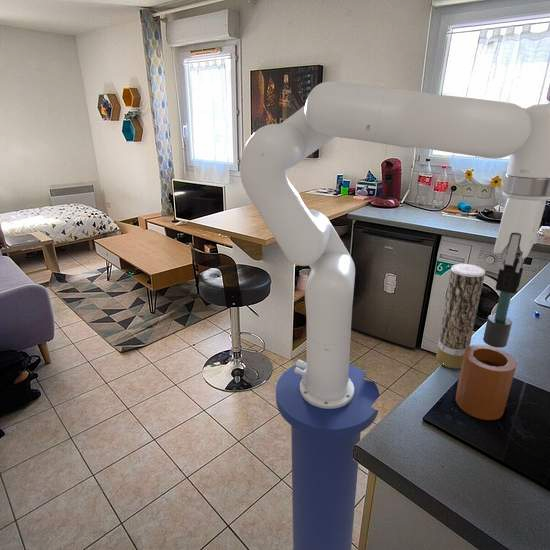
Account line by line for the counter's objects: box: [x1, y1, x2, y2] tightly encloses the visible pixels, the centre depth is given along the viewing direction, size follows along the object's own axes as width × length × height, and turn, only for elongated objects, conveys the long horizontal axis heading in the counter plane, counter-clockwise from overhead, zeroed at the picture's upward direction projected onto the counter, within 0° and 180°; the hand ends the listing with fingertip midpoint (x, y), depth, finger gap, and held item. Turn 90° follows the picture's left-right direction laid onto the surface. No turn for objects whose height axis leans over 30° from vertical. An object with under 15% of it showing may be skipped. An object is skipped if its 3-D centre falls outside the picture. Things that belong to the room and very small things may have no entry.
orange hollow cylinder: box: [455, 344, 518, 421], centre depth 75 cm, size 9×9×12 cm
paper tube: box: [435, 263, 486, 370], centre depth 86 cm, size 7×7×25 cm
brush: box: [482, 260, 518, 349], centre depth 67 cm, size 4×4×17 cm
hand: (506, 288), depth 66 cm, fingers closed on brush
